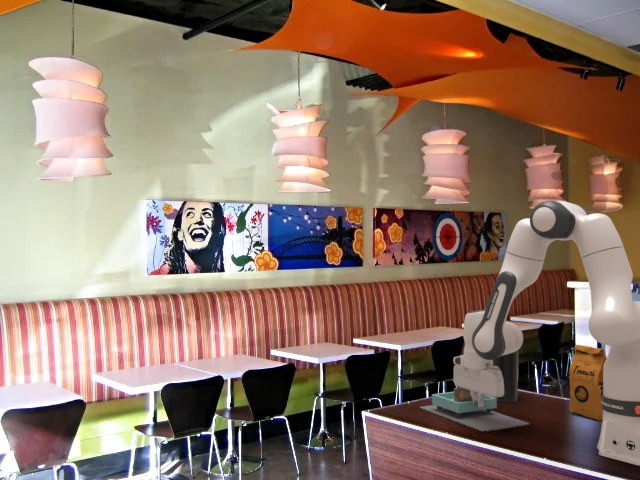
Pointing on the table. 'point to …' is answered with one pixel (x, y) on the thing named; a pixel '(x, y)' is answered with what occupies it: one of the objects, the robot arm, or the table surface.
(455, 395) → the walnut block
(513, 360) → the water bottle
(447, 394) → the cyan square tray
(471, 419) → the grey rectangular mat
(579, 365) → the coffee package
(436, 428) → the table surface
